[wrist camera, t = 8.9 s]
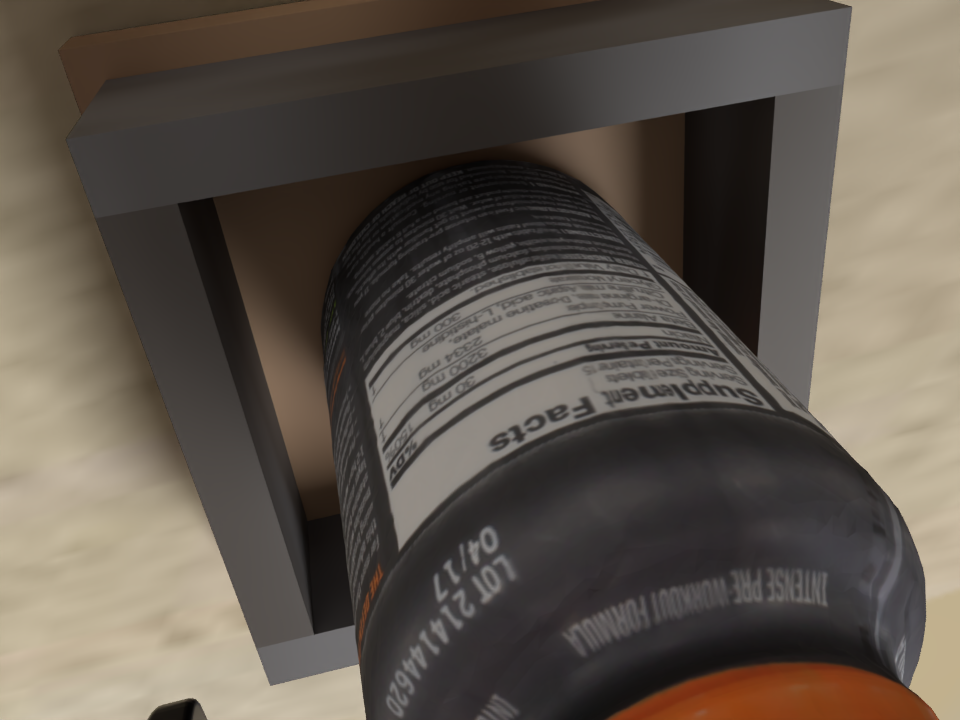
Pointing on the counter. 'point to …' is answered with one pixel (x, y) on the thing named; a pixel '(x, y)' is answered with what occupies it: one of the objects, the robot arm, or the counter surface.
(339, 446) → the pill bottle
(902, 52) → the counter surface
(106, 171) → the holder
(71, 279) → the counter surface
